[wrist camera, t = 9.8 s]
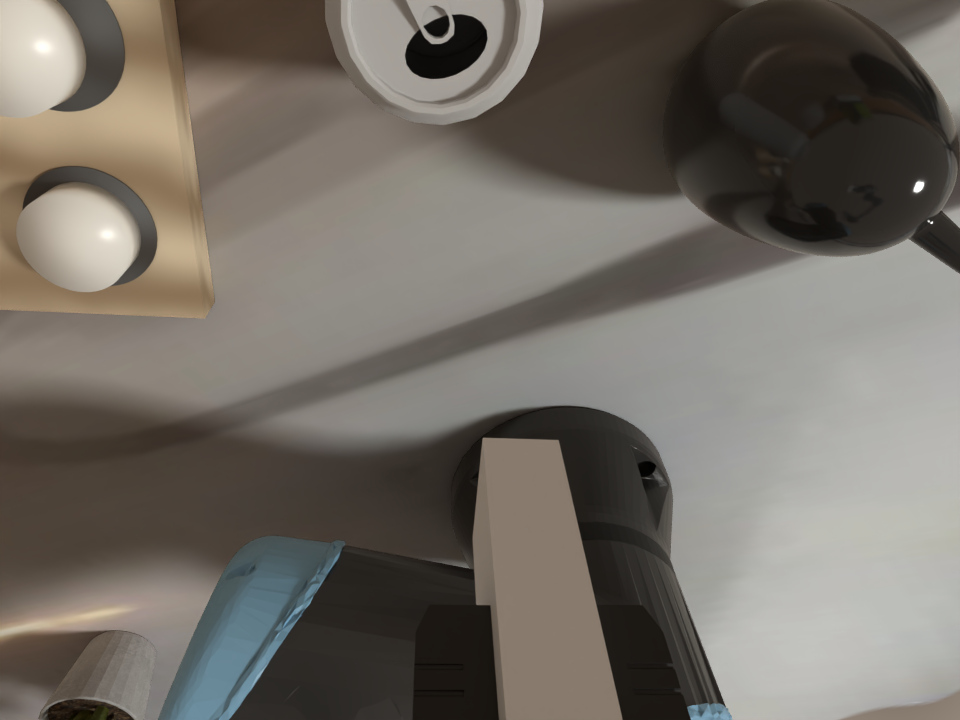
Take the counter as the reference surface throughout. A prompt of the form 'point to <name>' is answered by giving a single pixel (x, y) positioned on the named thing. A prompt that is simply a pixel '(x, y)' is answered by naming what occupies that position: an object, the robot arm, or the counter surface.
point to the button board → (115, 165)
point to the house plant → (106, 681)
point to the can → (434, 52)
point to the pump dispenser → (814, 134)
